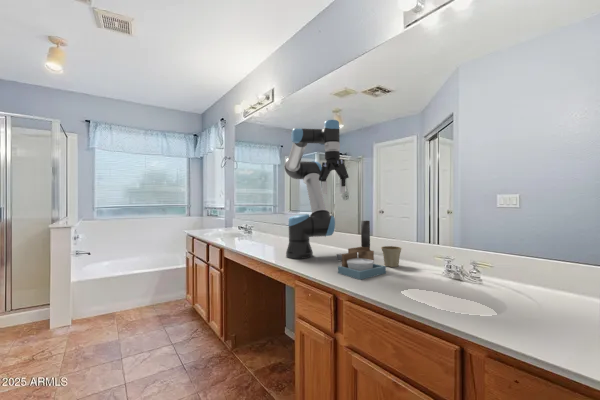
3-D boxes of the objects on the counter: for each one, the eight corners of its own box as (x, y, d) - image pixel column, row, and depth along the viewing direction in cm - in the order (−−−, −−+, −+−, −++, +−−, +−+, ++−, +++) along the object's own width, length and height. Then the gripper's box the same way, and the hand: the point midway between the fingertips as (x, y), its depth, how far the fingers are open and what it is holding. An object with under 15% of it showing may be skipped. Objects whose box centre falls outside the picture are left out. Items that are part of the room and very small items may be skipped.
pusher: (338, 268, 132) (337, 222, 131) (364, 263, 141) (363, 220, 141) (347, 271, 127) (346, 223, 126) (373, 265, 136) (373, 220, 136)
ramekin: (378, 272, 126) (378, 260, 126) (363, 278, 118) (362, 265, 118) (358, 268, 134) (357, 257, 134) (342, 273, 127) (341, 260, 127)
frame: (338, 273, 126) (337, 266, 126) (363, 267, 135) (363, 261, 135) (359, 279, 116) (359, 272, 116) (385, 273, 124) (385, 266, 124)
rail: (336, 260, 152) (336, 254, 152) (340, 259, 154) (340, 253, 154) (363, 266, 137) (363, 260, 136) (368, 265, 138) (367, 259, 138)
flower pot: (390, 262, 144) (390, 245, 144) (406, 266, 136) (406, 247, 136) (377, 265, 139) (376, 247, 139) (392, 269, 131) (392, 250, 131)
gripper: (311, 154, 155) (312, 194, 155) (343, 147, 134) (344, 193, 134) (322, 155, 159) (323, 194, 159) (355, 148, 138) (356, 192, 138)
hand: (333, 193), depth 147 cm, fingers open, 13 cm apart
